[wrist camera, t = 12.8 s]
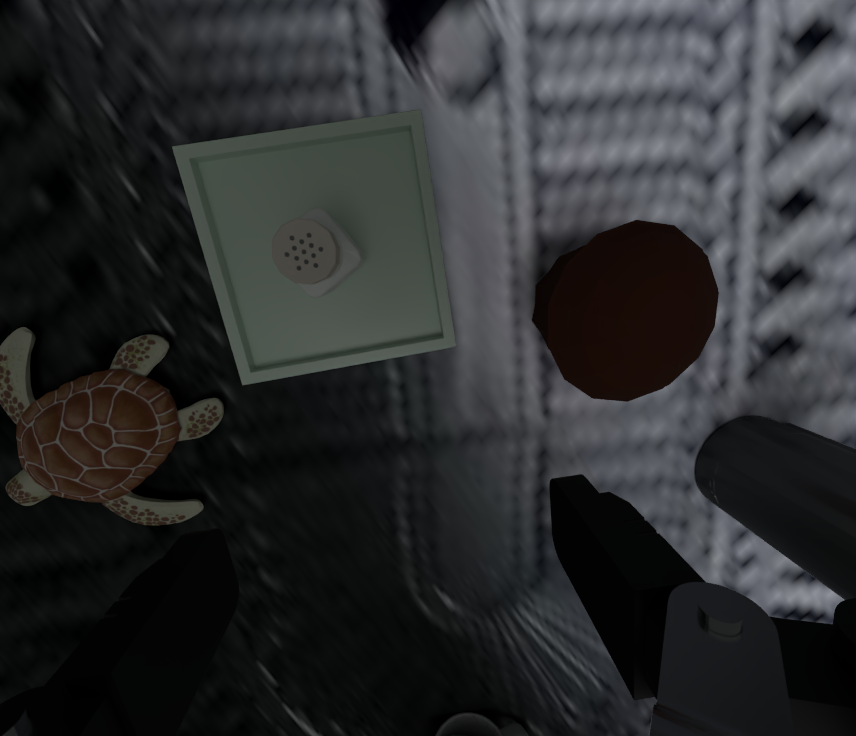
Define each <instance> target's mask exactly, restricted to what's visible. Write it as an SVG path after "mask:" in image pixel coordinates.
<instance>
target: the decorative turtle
mask: <svg viewBox="0 0 856 736" xmlns="http://www.w3.org/2000/svg"><path fill="white" fill-rule="evenodd" d="M35 339H36V337H35V334H34V333H33V332H32V331H30V330H29V329H27V328H26V327H21V328H19V329H17V330H15V331H14V332H13V333H11V335H9V336H8V337H7V338H6V339H5V341H4V342H3V343H2V345H1V346H0V404H1V405H2V407H3V408H4V410H5V411H6V412H7V414H8V415H9V416H10V418H11V419H12V420H13V422H14V423H16V424H17V432H16V437H17V445H18V455H19V459H20V462H21V466H22V468H23V470H22V471H21V472H19V473H18V474H17V475H16V476H15V477H14V478H13V479H11V480H10V481H9V482H8V483H7V485H6V491H7V493H8V495H9V496H10V497H11V498H12V499H13V500H14V501H16V502H17V503H19V504H21V505H24V506H31V505H34V504H36V503H38V502H39V501H41V500H43V499H45V498H47V497H49V496H51V495H55V496H59V497H64V498H68V499H76V500H81V501H87V502H102V503H103V505H104V506H105V507H107V508H108V509H110V510H111V511H113V512H115V513H116V514H118V515H120V516H121V517H123V518H125V519H128V520H130V521H132V522H135V523H139V524H143V525H165V524H173V523H178V522H182V521H185V520H187V519H189V518H191V517H193V516H194V515H196V514H198V513H199V512H201V511H202V509H203V507H204V506H203V504H202V503H201V501H200V500H198V499H188V500H180V501H176V500H162V499H154V498H147V497H143V496H139V495H136V494H134V493H132V492H131V490H132V489H134V488H135V487H137V486H138V485H140V484H141V483H142V482H143V481H144V480H145V478H146V477H147V476H148V475H151V474H152V473H153V472H154V471H155V470H156V469H157V467H158V466H159V465H160V464H161V463H162V462H164V461H165V459H166V457H167V455H168V453H170V452H171V451H172V449H173V446H174V445H175V443H176V442H177V441H182V440H188V439H194V438H199V437H201V436H204V435H206V434H208V433H209V432H211V431H212V430H213V429H214V428H215V427H216V426H217V425H218V424H219V422H220V421H221V419H222V417H223V414H224V406H223V403H222V402H221V401H220V399H218V398H209V399H204V400H201V401H199V402H197V403H195V404H193V405H191V406H189V407H186V408H184V409H181V410H178V411H177V408H176V403H175V401H174V399H173V397H172V395H171V394H170V391H169V389H167V388H165V387H163V386H162V385H161V384H159V383H158V382H156V381H154V380H152V379H149V378H147V377H146V376H147V375H148V374H149V373H150V371H151V370H152V369H153V367H154V366H156V365H157V364H158V363H159V362H160V361H161V360H162V359H163V358H164V357H165V355H166V353H167V351H168V349H169V342H168V341H167V340H166V339H165V338H163V337H161V336H158V335H142V336H139V337H136V338H134V339H132V340H130V341H128V342H126V343H125V344H124V345H123V346H122V347H121V348H120V349H119V350H118V352H117V354H116V356H115V358H114V360H113V362H112V365H111V367H110V368H109V369H108V370H106V371H101V372H94V373H93V374H91V375H87V376H81V377H79V378H78V379H76V380H75V381H71V382H68V383H66V384H64V385H62V386H60V388H59V389H57V390H55V391H51V392H48V393H46V394H45V395H44V396H43V397H41V398H40V399H38V400H35V398H34V396H33V392H32V388H31V374H30V359H31V352H32V349H33V346H34V343H35Z"/></svg>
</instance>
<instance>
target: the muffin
mask: <svg viewBox="0 0 856 736" xmlns="http://www.w3.org/2000/svg"><path fill="white" fill-rule="evenodd" d="M718 294H719V292H718V287H717V284H716V281H715V278H714V275H713V272H712V269H711V266H710V263H709V260H708V256H707V255H706V254H705V253H704V252H703V250H702V249H701V248H700V247H699V246H698V245H697V244H695V243H694V242H693V241H692V240H691V239H690V238H688V237H687V236H686V235H685V234H684V233H683V232H681V231H680V230H679V229H678V228H677V227H676V226H674V225H667V224H660V223H654V222H647V221H640V220H635V221H632V222H630V223H627V224H624V225H621V226H619V227H616V228H613V229H610V230H608V231H605V232H602V233H599V234H597V235H596V236H595V237H594V238H593V239H592V240H591V241H590V242H589V243H588V244H587V245H585V246H583V247H580V248H578V249H576V250H574V251H571V252H569V253H567V254H565V255H562V256H560V257H559V258H558V259H557V261H556V262H555V263H554V265H553V266H552V268H551V269H550V271H549V272H548V273H547V274H546V275H545V276H544V277H543V278H542V280H541V281H540V282H539V283H538V284H537V285H536V291H535V308H534V313H533V318H532V321H533V323H534V324H535V325H536V327H537V328H538V330H539V331H540V332H541V334H542V336H543V338H544V340H545V342H546V344H547V347H548V349H549V350H550V351H551V353H552V355H553V357H554V359H555V361H556V363H557V365H558V367H559V369H560V371H561V373H562V375H563V377H564V379H565V380H566V381H568V382H569V383H571V384H572V385H574V386H575V387H577V388H578V389H580V390H581V391H582V392H584V393H585V394H587V395H588V396H590V397H591V398H594V399H605V400H616V401H630V400H633V399H636V398H638V397H641V396H644V395H646V394H649V393H652V392H655V391H657V390H660V389H663V388H664V387H665V386H667V385H669V384H670V383H672V382H673V381H674V380H675V379H676V378H677V377H678V376H679V375H680V374H681V373H682V372H684V371H685V370H686V369H687V368H688V367H689V366H690V365H691V364H692V363H693V362H694V361H695V360H696V359H697V358H698V357H699V356H700V354H701V352H702V350H703V348H704V346H705V344H706V342H707V340H708V338H709V336H710V334H711V333H712V331H713V329H714V327H715V319H716V311H717V303H718Z"/></svg>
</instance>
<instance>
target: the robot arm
mask: <svg viewBox="0 0 856 736" xmlns="http://www.w3.org/2000/svg"><path fill="white" fill-rule="evenodd" d="M696 480H697V484H698V486H699V489H700V491H701V492H702V493H703V495H704V496H705V497H706V498H707V499H709V500H710V501H711V502H712V503H714V504H715V505H716V506H718V507H719V508H721V509H722V510H723V511H725V512H726V513H727V514H729V515H730V516H731V517H733V518H734V519H736V520H737V521H738V522H740V523H741V524H742V525H743V526H745V527H746V528H748V529H749V530H750V531H752V532H753V533H754V534H756V535H757V536H758V537H760V538H761V539H763V540H764V541H765V542H767V543H768V544H769V545H771V546H772V547H773V548H775V549H776V550H778V551H779V552H780V553H782V554H783V555H784V556H786V557H787V558H789V559H790V560H791V561H793V562H794V563H795V564H797V565H798V566H799V567H801V568H802V569H804V570H805V571H806V572H808V573H809V574H810V575H812V576H813V577H814V578H816V579H817V580H819V581H820V582H821V583H823V584H824V585H825V586H827V587H828V588H829V589H831V590H832V591H834V592H835V593H836V594H838V595H839V596H840V597H842V598H843V599H845V601H842V602H840V603H839V604H838V605H837V607H836V609H835V612H834V619H833V624H824V623H816V622H807V621H798V620H790V619H781V618H775V617H770V616H768V614H767V613H766V612H765V611H764V610H763V609H762V608H761V607H760V606H758V605H757V604H756V603H755V602H753V601H752V600H750V599H749V598H747V597H746V596H744V595H742V594H740V593H738V592H736V591H734V590H732V589H729V588H727V587H724V586H721V585H717V584H712V583H706V582H705V581H704V580H703V579H702V578H701V577H700V576H699V575H698V574H697V572H696V571H695V570H694V569H693V568H692V567H691V566H690V565H689V564H688V563H687V562H686V561H685V560H684V559H683V558H682V557H681V556H680V555H679V554H678V553H677V552H676V551H675V550H674V549H673V547H672V546H671V545H670V544H669V543H668V542H667V541H666V540H665V539H664V538H663V537H662V536H661V535H660V534H657V532H656V530H655V529H654V528H653V527H652V526H651V525H650V523H649V522H648V521H645V520H644V517H643V516H642V515H641V514H640V513H639V512H638V511H637V510H636V509H635V508H634V507H633V506H632V505H631V504H630V503H629V502H627V501H625V500H623V499H622V498H620V497H618V496H616V495H614V494H612V493H611V492H605V493H599V492H598V491H597V490H596V489H595V488H594V486H593V485H592V484H591V483H590V482H589V481H588V480H587V478H586V477H585V476H584V475H582V474H580V475H573V476H567V477H560V478H553V479H551V480H550V504H551V521H552V536H553V542H554V546H555V550H556V553H557V556H558V558H559V560H560V562H561V564H562V566H563V568H564V570H565V572H566V574H567V576H568V577H569V579H570V581H571V583H572V585H573V587H574V589H575V590H576V592H577V594H578V596H579V598H580V600H581V602H582V604H583V605H584V607H585V609H586V611H587V613H588V615H589V617H590V618H591V620H592V622H593V624H594V626H595V628H596V630H597V632H598V633H599V635H600V637H601V639H602V641H603V643H604V645H605V647H606V648H607V650H608V652H609V654H610V656H611V658H612V660H613V661H614V663H615V665H616V667H617V669H618V671H619V673H620V675H621V676H622V678H623V680H624V682H625V684H626V686H627V688H628V689H629V691H630V693H631V695H632V697H633V699H634V700H639V699H645V698H651V697H655V698H656V699H657V703H656V705H654V707H653V712H652V719H651V727H650V735H649V736H856V449H854V448H852V447H849V446H847V445H844V444H842V443H839V442H837V441H834V440H832V439H829V438H826V437H824V436H821V435H819V434H816V433H814V432H811V431H809V430H806V429H804V428H801V427H798V426H796V425H793V424H791V423H787V424H782V423H779V422H777V421H774V420H772V419H769V418H765V417H761V416H748V417H742V418H739V419H736V420H734V421H731V422H729V423H727V424H726V425H724V426H723V427H721V428H720V429H719V430H717V431H716V432H715V433H714V434H713V435H712V436H711V437H710V438H709V440H708V441H707V442H706V443H705V445H704V447H703V449H702V450H701V452H700V455H699V458H698V461H697V465H696ZM238 599H239V583H238V579H237V576H236V572H235V569H234V565H233V562H232V559H231V555H230V552H229V549H228V545H227V542H226V538H225V536H224V533H223V532H222V530H220V529H218V528H215V529H209V530H202V531H195V532H189V533H184V534H183V535H181V536H180V537H179V539H178V540H177V541H176V542H175V543H174V545H173V546H172V547H171V548H170V550H169V551H168V552H167V553H166V555H165V556H164V557H163V558H162V559H159V560H158V561H156V562H155V563H154V564H153V565H151V566H150V567H149V568H147V569H146V570H145V571H144V572H142V573H141V574H140V575H138V576H137V577H136V578H135V579H134V580H133V582H132V583H131V584H130V585H129V586H128V587H127V589H126V590H125V591H124V592H123V593H122V595H121V596H120V597H119V601H117V602H115V603H114V604H113V605H112V606H111V607H110V609H109V610H108V611H107V612H106V613H105V615H104V619H100V620H99V622H98V623H97V624H96V625H95V626H94V628H93V629H92V630H91V631H90V632H89V633H88V635H87V636H86V637H85V638H84V639H83V641H82V642H81V643H80V644H79V645H78V646H77V648H76V649H75V650H74V651H73V652H72V654H71V655H70V656H69V657H68V658H67V659H66V661H65V662H64V663H63V664H62V665H61V667H60V668H59V669H58V670H57V671H56V672H55V674H54V675H53V676H52V677H51V678H50V680H49V681H48V682H47V683H46V684H45V685H44V686H40V687H36V688H33V689H30V690H27V691H24V692H22V693H20V694H18V695H16V696H14V697H12V698H10V699H8V700H6V701H4V702H3V703H1V704H0V736H176V734H177V732H178V730H179V728H180V726H181V724H182V722H183V719H184V717H185V715H186V713H187V711H188V709H189V707H190V705H191V703H192V701H193V699H194V696H195V694H196V692H197V690H198V688H199V686H200V684H201V682H202V680H203V678H204V676H205V673H206V671H207V669H208V667H209V665H210V663H211V661H212V659H213V657H214V655H215V653H216V650H217V648H218V646H219V644H220V642H221V640H222V638H223V636H224V634H225V632H226V629H227V627H228V625H229V623H230V621H231V619H232V617H233V615H234V613H235V610H236V608H237V604H238Z"/></svg>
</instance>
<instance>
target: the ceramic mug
mask: <svg viewBox="0 0 856 736" xmlns="http://www.w3.org/2000/svg"><path fill="white" fill-rule="evenodd" d="M435 736H529V735H528V734H527V732H526V731H525V729H524V728H523V727H522V726H521V725H520V724H519V723H511V724H509V725H507V726H505V727H503V728H501V729H499V728H498V727H497V725H496V724H494V723H493V722H492V721H491V720H490V719H488V718H487V717H485V716H483V715H481V714H477V713H473V712H463V713H459V714H455V715H453V716H451V717H450V718H448V719H447V720H446V721H445V722H444V723H443V724H442V725H441V726H440V728H439V729H438V731H437V733H436V735H435Z"/></svg>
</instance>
